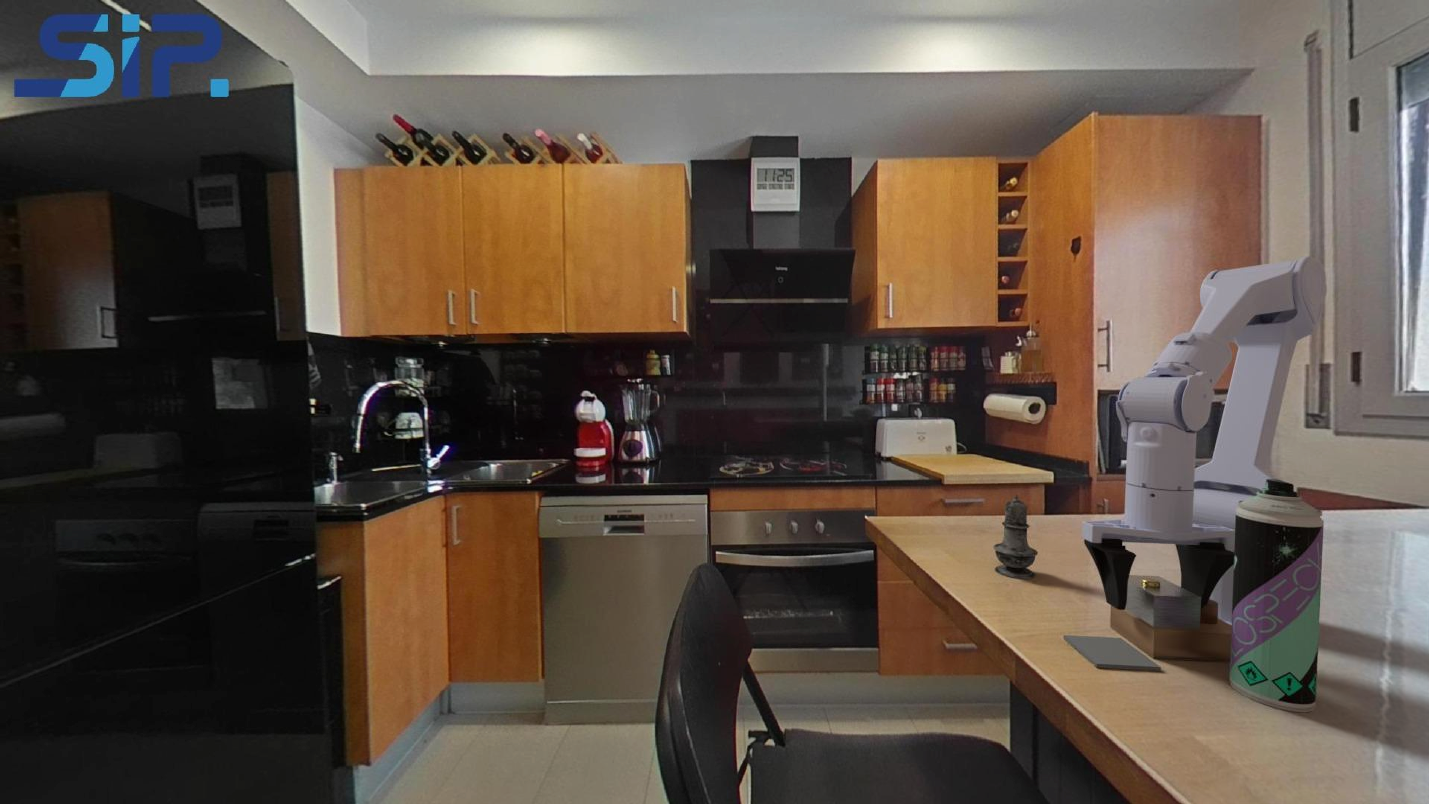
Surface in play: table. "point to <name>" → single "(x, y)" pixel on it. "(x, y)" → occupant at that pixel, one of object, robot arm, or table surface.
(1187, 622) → the grey knob block
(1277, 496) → the spray can
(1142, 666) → the mat
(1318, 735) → the table surface
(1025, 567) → the salt shaker
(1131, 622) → the body
